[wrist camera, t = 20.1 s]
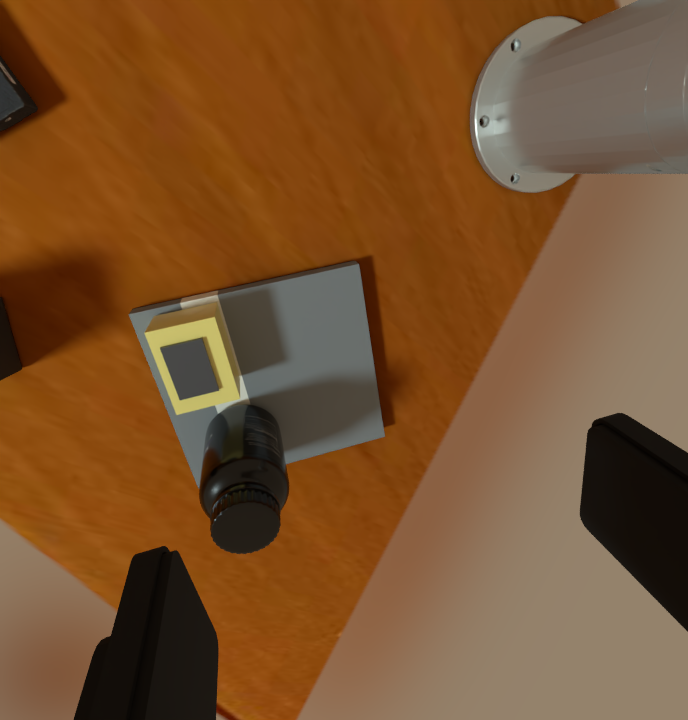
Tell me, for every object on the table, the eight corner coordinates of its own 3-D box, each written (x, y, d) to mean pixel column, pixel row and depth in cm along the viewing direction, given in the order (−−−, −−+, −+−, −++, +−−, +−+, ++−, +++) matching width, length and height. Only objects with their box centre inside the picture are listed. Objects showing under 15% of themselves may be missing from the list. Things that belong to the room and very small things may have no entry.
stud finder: (217, 302, 35) (214, 318, 31) (239, 377, 38) (240, 400, 34) (153, 316, 34) (143, 334, 30) (182, 391, 37) (176, 417, 33)
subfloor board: (354, 260, 38) (358, 263, 37) (380, 428, 46) (384, 436, 44) (132, 308, 35) (128, 314, 34) (199, 478, 43) (198, 488, 42)
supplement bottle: (190, 423, 39) (173, 519, 28) (258, 389, 39) (267, 471, 28) (229, 475, 42) (227, 579, 31) (292, 443, 42) (311, 536, 31)
